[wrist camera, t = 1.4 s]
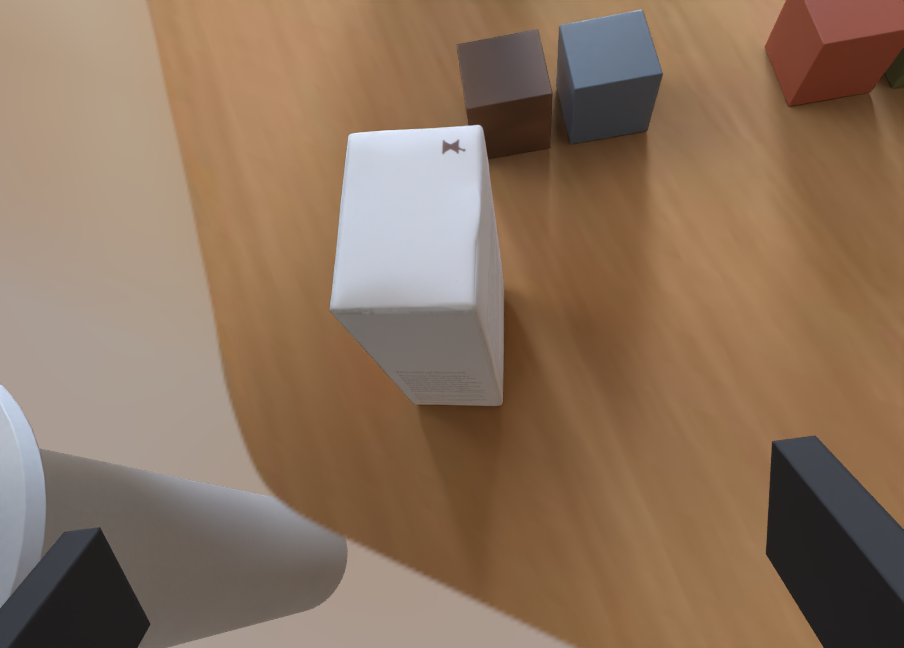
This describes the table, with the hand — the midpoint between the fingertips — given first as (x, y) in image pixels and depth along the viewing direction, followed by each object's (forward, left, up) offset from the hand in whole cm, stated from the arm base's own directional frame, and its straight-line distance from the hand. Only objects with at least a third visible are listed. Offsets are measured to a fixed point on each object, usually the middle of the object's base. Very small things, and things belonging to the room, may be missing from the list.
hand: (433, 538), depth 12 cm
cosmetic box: (0, +9, -14) cm, 17 cm away
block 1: (+4, +21, -14) cm, 25 cm away
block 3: (+20, +21, -14) cm, 32 cm away
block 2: (+9, +21, -14) cm, 26 cm away
